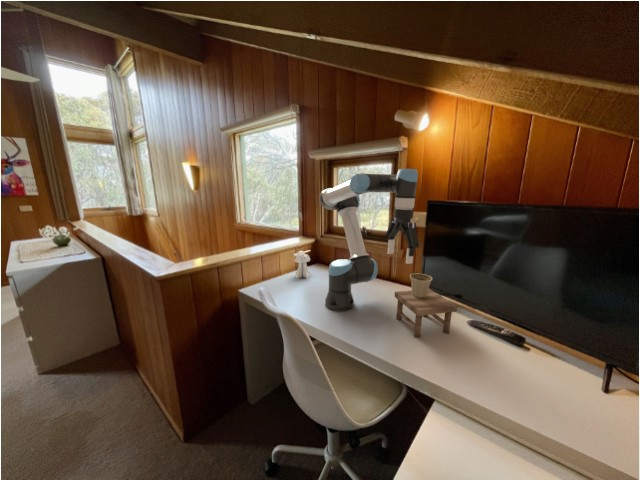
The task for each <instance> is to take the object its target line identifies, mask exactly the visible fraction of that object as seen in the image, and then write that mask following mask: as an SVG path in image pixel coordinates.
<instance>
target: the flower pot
mask: <svg viewBox="0 0 640 480" xmlns="http://www.w3.org/2000/svg"><path fill="white" fill-rule="evenodd" d="M409 278H410V281H411V290H412V294H413V295H414V296H416V297H420V298H422V297H426V296H427V293H428V289H430V285H431V282H432V281H433V277H432V276H431V275H428V274H425V273H419V272H418V273H410V274H409Z"/></svg>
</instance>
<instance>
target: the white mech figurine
mask: <svg viewBox="0 0 640 480" xmlns="http://www.w3.org/2000/svg"><path fill="white" fill-rule="evenodd" d="M308 252H311V249H308V250H305V251H304V250H298V251H297V252H292V256H294V257H295V258H294V262H295V263H297V264H298V267H297V270H296V271H295V276H294V278H295V279H300V278H302V277H303V278H306V279H309V278H310V274H311V273H310V271H309V269H308V265H307V263H308V262H310V261H311V258H310V255H308V254H306V253H308Z"/></svg>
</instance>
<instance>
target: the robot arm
mask: <svg viewBox="0 0 640 480" xmlns="http://www.w3.org/2000/svg"><path fill="white" fill-rule="evenodd" d="M418 177H419V176H418V169H415V168H400V169H398V171H397V173H396V174H388V173H386V174H384V173H363V172H360V173H354V174H353V175H352V177H350V180H348V181H346V182H343V183H342V184H338V185H337V186H335V187H333V188H332V187H328V188H326V189H324V190H322V191H321V192H320V194H319V197H318V198H319V199H318V200H319V203H320V205H321V206H322V208H323V209H326V210H328V211H329V210H330V211H336V212H337V215H338V216H340V217H341V221H342V226H343V230H344V233H345V238H346V242H347V246H348V250H349V254H350V257H349V259H345V258H343V259H342V258H341V259H336V260H333V261H331V262H330V264H329V267H328V291H327V293H326V297H325V301H324V302H325V303H324V305H325V307H326V308H327V309H330V310H331V311H337V312H346V311H349V310H352V309H353V308H354V306H355V300H354V296H353V292H352V285H357V284H361V283H368V282H371V281H373V280H375V279H376V278H377V275H378V271H379V268H378V263H377V262H376V261H375V259H373V258H371V254H369V253H367V250H366V247H365V243H364V239H363V235H362V232H361V231H362V230H361V227H360V224H359V219H358V215H357V211H358V209H359V207H360V204H361V203H360V200H361V199H360V195H363V194H366V193H367V194H368V193H392V194H393V193H394V194H395V197H394V198H395V199H394V207H395V208H394V211H393V217H391V218H390V223H389V225H388V228H387V231H386V233H385V238H387V253H386V254H387V255H393V254H394V251H395V241H396V240H395V239H396V236H397V235H398V233H399V232H402V234H403V235H404V237H405V241H406V243H407V245H408V247H407V248H406V257H405V264H406V265H408V264H411V265H412V264H413V261H414V255H415V250H416V249H419V248H420V242H419V239H418V238H419V237H418V233H417V223H416V222H411V220H412V219H414V212H415V210H414V208H415V201H416V193H417V185H418V180H419V179H418Z"/></svg>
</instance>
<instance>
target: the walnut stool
mask: <svg viewBox="0 0 640 480" xmlns="http://www.w3.org/2000/svg"><path fill="white" fill-rule="evenodd" d="M394 298H395V299H396V300H397V304H396V305H397V307H396V320H397V321H402V319H404V320H405V321H406V322H407V323H408V324H409V325H410V326H411V327H412V328H413V329H414V331H413V337H414V338H415V339H420V337H421V331H422V321H423V317H424V318H428V317H429V316H432V318H434V319H436V321H438V322H439V323H441V325H443V327H442V333H444V334H446V335H448V334H450V331H451V329H450V328H451V320H452V314H453V313H454V312H457V309H458V305H457V304H455V303H454V302H452V301H450V300H448V299H447V298H445V297H443V296H442V295H440V294H438V293H437V292H435V291H434V290H432V289H430V288H429V289H428V293H427V296H426V297H422V298H420V297H416V296H414V295H413V294H412V289H410V290H402V291H401V290H399V291H394ZM404 306H405V307H406V308H407V309H409V310H410V311H411V312H412V313H413V314H415V318H414V319H415V320H414V321H413V320H412V319H410V317H408V316H407V315H406V314H405V313H404V312H403V309H404ZM438 314H439V315H440V314H444V317H443V318H444V319H443V318H442V317H441V316H439V315H438Z"/></svg>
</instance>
